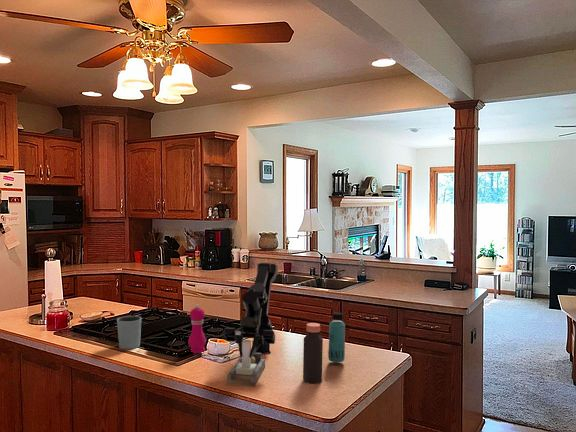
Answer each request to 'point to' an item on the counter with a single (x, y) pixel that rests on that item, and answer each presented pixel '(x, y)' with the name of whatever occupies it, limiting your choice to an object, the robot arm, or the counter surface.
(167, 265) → the counter surface
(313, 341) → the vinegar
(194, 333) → the pepper mill
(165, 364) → the counter surface
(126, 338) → the drinking glass
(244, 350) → the press jaw
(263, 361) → the base plate with post
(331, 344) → the beverage bottle
